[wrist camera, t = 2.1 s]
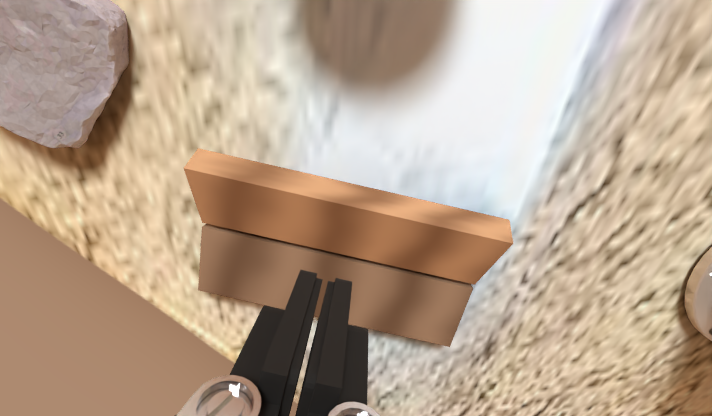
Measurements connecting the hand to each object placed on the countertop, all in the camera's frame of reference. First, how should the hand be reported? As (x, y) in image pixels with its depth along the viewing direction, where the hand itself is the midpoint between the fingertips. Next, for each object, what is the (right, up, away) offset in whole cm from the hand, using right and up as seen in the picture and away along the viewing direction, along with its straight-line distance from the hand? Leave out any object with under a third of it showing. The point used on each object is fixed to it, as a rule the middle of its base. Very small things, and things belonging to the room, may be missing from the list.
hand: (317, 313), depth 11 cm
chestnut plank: (+1, +3, +15) cm, 15 cm away
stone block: (-20, +14, +15) cm, 29 cm away
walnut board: (-1, -3, +19) cm, 19 cm away
